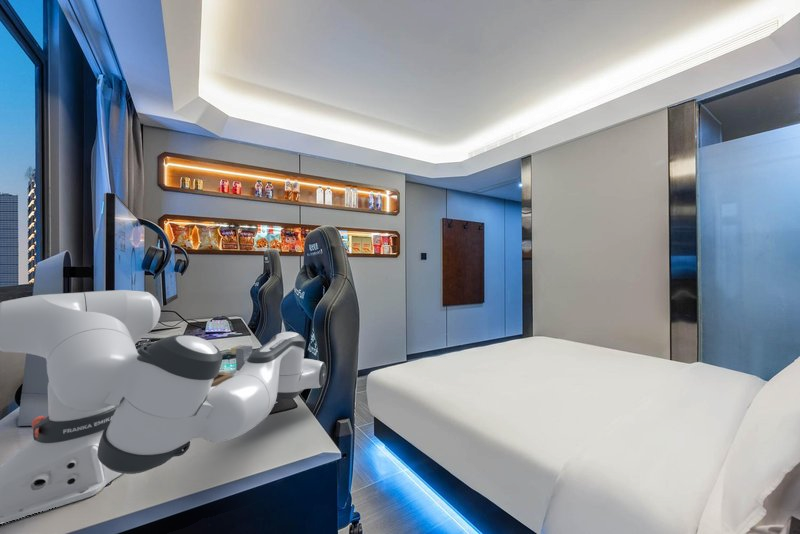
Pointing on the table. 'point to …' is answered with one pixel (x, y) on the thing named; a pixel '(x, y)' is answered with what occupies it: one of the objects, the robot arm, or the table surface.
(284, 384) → the robot arm
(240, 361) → the grey upright cuboid
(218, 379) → the post block
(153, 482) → the table surface
